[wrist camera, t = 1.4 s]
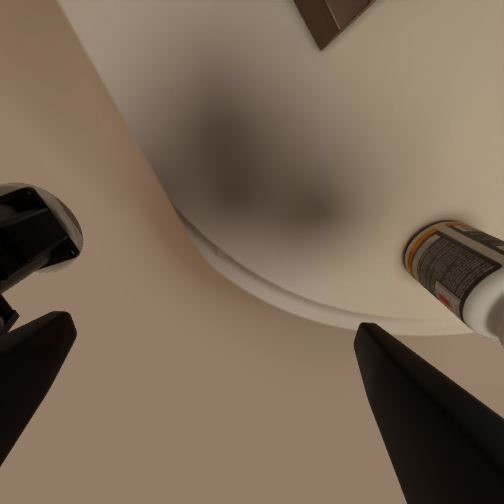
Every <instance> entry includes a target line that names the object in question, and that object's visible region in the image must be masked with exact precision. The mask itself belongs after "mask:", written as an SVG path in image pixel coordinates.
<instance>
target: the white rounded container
mask: <svg viewBox="0 0 504 504" xmlns="http://www.w3.org/2000/svg"><path fill="white" fill-rule="evenodd" d="M405 265H406V268H407V270H408V272H409V273H410V274H411V276H412V277H413V278H415V279H416V280H417V281H418V282H419V283H420V284H421V285H422V286H423V287H424V288H426V289H427V290H428V291H429V292H430V293H431V294H432V295H434V296H435V297H436V298H437V299H438V300H439V301H440V302H441V303H443V304H444V305H445V306H446V307H447V308H448V309H449V310H450V311H451V312H453V313H454V314H455V315H456V316H457V317H458V318H459V319H460V320H461V321H462V322H463V323H465V324H466V325H467V326H468V327H469V328H470V329H472V330H473V331H475V332H477V333H478V334H481V335H483V336H486V337H489V338H493V339H499V340H500V342H501V344H502V346H503V347H504V241H502V240H500V239H498V238H495V237H493V236H491V235H489V234H486V233H484V232H482V231H480V230H478V229H476V228H473V227H471V226H469V225H466V224H463V223H459V222H442V223H438V224H435V225H433V226H430V227H428V228H427V229H425V230H424V231H422V232H421V233H420V234H418V235H417V236H416V237H415V238H414V239H413V241H412V242H411V243H410V245H409V246H408V249H407V251H406V255H405Z"/></svg>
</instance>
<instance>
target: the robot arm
mask: <svg viewBox="0 0 504 504" xmlns="http://www.w3.org/2000/svg"><path fill="white" fill-rule="evenodd" d="M28 192H29V193H30V195H29V194H28ZM71 251H73V252H74V253H72V252H71ZM79 254H80V251H79V249H78V248H77V246H76V245H75V244H74V242H73V241H72V239H71V238H70V237H69V235H68V234H67V233H66V231H65V230H64V228H63V227H62V226H61V224H60V223H59V221H58V220H57V219H56V217H55V216H54V215H53V213H52V212H51V210H50V209H49V208H48V206H47V205H46V203H45V202H44V201H43V199H42V198H41V197H40V195H39V194H38V192H37V191H36V190H35V189H34V188H32V187H30V186H27V187H23V188H20V189H18V190H15V191H12V192H10V193H7V194H4V195H2V196H0V467H1V465H2V463H3V462H4V460H5V459H6V457H7V455H8V454H9V452H10V451H11V449H12V448H13V446H14V445H15V443H16V441H17V440H18V438H19V437H20V435H21V433H22V432H23V430H24V429H25V427H26V426H27V424H28V423H29V421H30V419H31V418H32V416H33V414H34V413H35V412H36V410H37V408H38V407H39V405H40V404H41V402H42V401H43V399H44V397H45V396H46V394H47V392H48V391H49V389H50V387H51V385H52V384H53V382H54V380H55V378H56V376H57V374H58V372H59V370H60V368H61V366H62V365H63V363H64V361H65V359H66V357H67V355H68V353H69V351H70V349H71V347H72V345H73V343H74V341H75V339H76V336H77V331H76V328H75V325H74V323H73V320H72V317H71V315H70V314H69V313H68V312H65V311H53V312H50V313H48V314H46V315H44V316H42V317H40V318H38V319H36V320H33V321H31V322H29V323H27V324H25V325H23V326H21V327H19V328H17V329H15V330H12V331H10V332H8V331H9V330H10V328H11V327H12V326H13V324H14V323H15V322H16V320H17V319H18V318H19V314H18V313H17V312H16V310H13V309H12V308H11V306H10V305H9V304H8V302H7V301H6V300H5V298H4V297H3V296H2V293H3V292H5V291H6V290H8V289H9V288H11V287H12V286H14V285H15V284H17V283H18V282H20V281H21V280H23V279H24V278H26V277H27V276H28V275H30V274H31V273H33V272H34V271H36V270H39V269H42V268H46V267H49V266H52V265H55V264H58V263H61V262H64V261H68V260H71V259H74V258H76V257H77V256H79ZM7 332H8V333H7ZM354 350H355V354H356V357H357V361H358V365H359V368H360V372H361V376H362V380H363V383H364V387H365V391H366V394H367V398H368V401H369V403H370V406H371V409H372V412H373V414H374V417H375V420H376V422H377V425H378V427H379V430H380V433H381V435H382V438H383V441H384V443H385V446H386V449H387V451H388V454H389V457H390V459H391V462H392V465H393V467H394V470H395V472H396V475H397V477H398V481H399V483H400V486H401V489H402V491H403V494H404V496H405V499H406V502H407V504H504V418H502V417H501V416H500V415H498V414H497V413H495V412H494V411H493V410H491V409H490V408H489V407H487V406H486V405H485V404H483V403H482V402H481V401H479V400H478V399H476V398H475V397H474V396H473V395H471V394H470V393H468V392H467V391H466V390H464V389H463V388H461V387H460V386H459V385H458V384H456V383H455V382H453V381H452V380H451V379H450V378H448V377H447V376H446V375H444V374H443V373H442V372H440V371H439V370H438V369H436V368H435V367H433V366H432V365H431V364H429V363H428V362H427V361H425V360H424V359H422V358H421V357H420V356H419V355H417V354H416V353H415V352H413V351H412V350H411V349H409V348H408V347H406V346H405V345H404V344H402V343H401V342H400V341H398V340H397V339H396V338H394V337H393V336H392V335H390V334H389V333H388V332H386V331H385V330H384V329H382V328H381V327H380V326H378V325H377V324H375V323H366V322H363V323H361V324H360V325H359V328H358V331H357V334H356V337H355V340H354Z"/></svg>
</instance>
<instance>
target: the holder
mask: <svg viewBox="0 0 504 504" xmlns="http://www.w3.org/2000/svg"><path fill="white" fill-rule="evenodd" d="M294 1H295V3H296V5H297V7H298V9H299V11H300V12H301V14H302V16H303V18H304V20H305V22H306V24H307V25H308V27H309V29H310V31H311V33H312V35H313V37H314V39H315V40H316V42H317V44H318V46H319V48H320V50H323V49H324V48H325V47H326V46H327V45H328V44H329V43H330V42H331V41H332V40H334V39H335V38H336V37H337V36H338V35H339V34H340V33H341V32H342V31H343V30H344V29H345V28H347V27H348V26H349V25H350V24H351V23H352V22H353V21H354V20H355V19H356V18H357V17H359V16H360V15H361V14H362V13H363V12H364V11H365V10H366V9H367V8H368V7H369V6H370V5H372V4H373V3H374V2H375V1H376V0H294Z"/></svg>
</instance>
